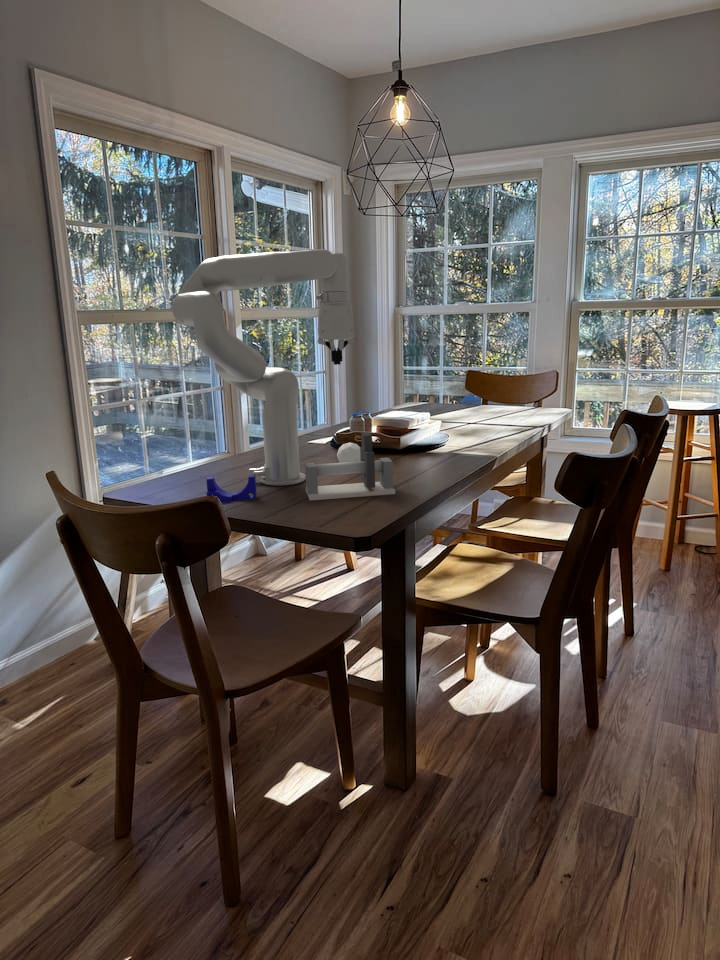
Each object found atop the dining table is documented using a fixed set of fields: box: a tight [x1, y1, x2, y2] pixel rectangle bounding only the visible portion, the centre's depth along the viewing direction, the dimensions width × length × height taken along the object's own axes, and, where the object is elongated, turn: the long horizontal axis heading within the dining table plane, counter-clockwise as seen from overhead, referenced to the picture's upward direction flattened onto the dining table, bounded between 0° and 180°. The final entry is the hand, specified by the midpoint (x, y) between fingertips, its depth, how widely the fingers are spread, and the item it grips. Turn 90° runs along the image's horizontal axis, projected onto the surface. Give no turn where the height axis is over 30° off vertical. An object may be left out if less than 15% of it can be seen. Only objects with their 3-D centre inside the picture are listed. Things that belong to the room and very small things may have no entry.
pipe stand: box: [304, 457, 396, 501], centre depth 174 cm, size 22×10×8 cm, turn 100°
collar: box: [359, 432, 376, 488], centre depth 173 cm, size 2×9×13 cm, turn 10°
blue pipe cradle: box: [206, 474, 258, 503], centre depth 171 cm, size 12×4×6 cm, turn 94°
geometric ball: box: [336, 442, 361, 463], centre depth 202 cm, size 8×8×8 cm
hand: (337, 364), depth 194 cm, fingers closed
